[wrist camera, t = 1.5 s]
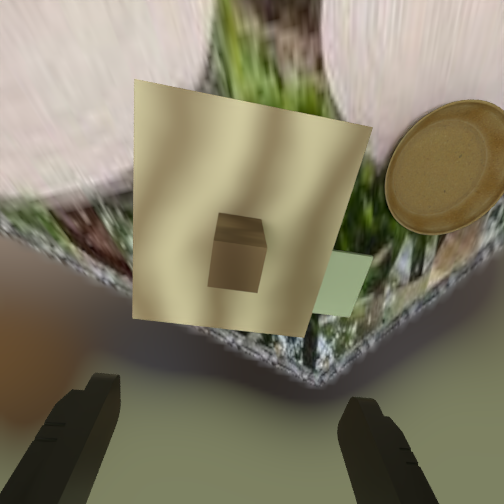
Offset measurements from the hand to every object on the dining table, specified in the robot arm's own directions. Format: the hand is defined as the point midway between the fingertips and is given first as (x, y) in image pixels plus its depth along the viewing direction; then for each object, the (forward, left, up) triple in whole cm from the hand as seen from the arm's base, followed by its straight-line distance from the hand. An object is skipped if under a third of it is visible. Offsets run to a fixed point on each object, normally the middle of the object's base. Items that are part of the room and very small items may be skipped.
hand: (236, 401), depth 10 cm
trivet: (-14, +10, -28) cm, 33 cm away
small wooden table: (0, 0, -28) cm, 28 cm away
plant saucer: (-23, -7, -28) cm, 37 cm away
